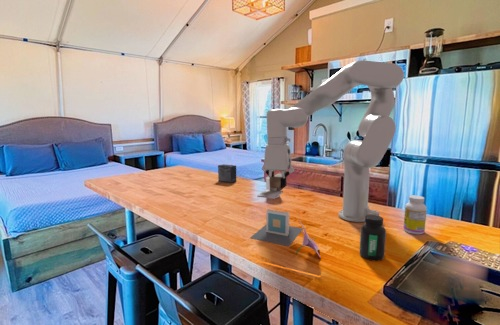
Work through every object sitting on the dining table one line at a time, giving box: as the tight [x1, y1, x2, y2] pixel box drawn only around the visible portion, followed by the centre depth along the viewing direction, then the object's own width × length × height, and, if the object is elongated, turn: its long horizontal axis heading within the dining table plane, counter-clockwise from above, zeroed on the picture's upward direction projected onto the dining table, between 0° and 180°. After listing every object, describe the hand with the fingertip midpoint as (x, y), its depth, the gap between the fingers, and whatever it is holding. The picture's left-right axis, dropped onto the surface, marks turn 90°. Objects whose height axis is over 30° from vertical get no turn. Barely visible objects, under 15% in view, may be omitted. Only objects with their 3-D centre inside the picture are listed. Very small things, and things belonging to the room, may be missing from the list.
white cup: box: [265, 176, 281, 199], centre depth 147 cm, size 8×8×10 cm
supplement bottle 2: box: [403, 194, 428, 236], centre depth 101 cm, size 7×7×13 cm
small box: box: [217, 163, 237, 184], centre depth 182 cm, size 11×6×10 cm, turn 58°
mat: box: [249, 224, 304, 247], centre depth 100 cm, size 14×16×1 cm
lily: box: [294, 221, 321, 258], centre depth 85 cm, size 12×12×10 cm
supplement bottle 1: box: [359, 215, 387, 262], centre depth 84 cm, size 7×7×12 cm
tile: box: [265, 208, 290, 236], centre depth 100 cm, size 8×2×8 cm, turn 63°
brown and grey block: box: [257, 172, 288, 199], centre depth 110 cm, size 7×17×5 cm, turn 152°
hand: (278, 186), depth 113 cm, fingers closed on brown and grey block, 3 cm apart
